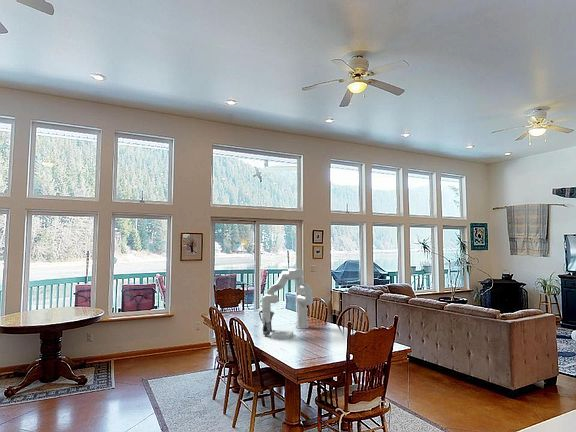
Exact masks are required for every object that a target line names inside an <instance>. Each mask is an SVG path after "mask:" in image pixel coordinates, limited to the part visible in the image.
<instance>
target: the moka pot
mask: <svg viewBox="0 0 576 432" xmlns="http://www.w3.org/2000/svg"><path fill="white" fill-rule="evenodd" d="M262 313H263V312H262V310H259V313H258V316H259V318H260V321H261V322H262ZM274 315H275V312H274V311H272V310H271V311H270V322H269V323H270V332H272V331H273V329H272V320H273V316H274Z"/></svg>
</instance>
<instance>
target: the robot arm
mask: <svg viewBox="0 0 576 432" xmlns="http://www.w3.org/2000/svg"><path fill="white" fill-rule="evenodd" d="M303 276H304V270H303V269H302V268H299V267H298V268H297V267H290V268H287V270H285V269H284V270H282V271H281V273H280V275H279V276H278V278H277V280H276V282H275V283H274V284H273V285H271V286H270V287H269V288H268V289H267V291H266V293H265V294H264V295H262V296H261V311H262V312H263V313H261V319H262V321H261V323H262V328H263V327H264V331H267V323H268V322H270V311H272V309H271V308H272V307H271V304H278V302H279V301H280V297H279V296H278V295H277V294H275V293H276V292H277V291H280V290H282V289H284V288H285V286H286V284H287V283H288V281H289V280H290V281H294V284H295V285H294V286H295V290H296V293H298V294H297V296H296V298H295V300H296V306H297V307H296V308H297V310H296V311H297V318H296V319H297V325H295V328H297V329H308V328H310V326H309V324H308V307H307V306H311V305H313V303H314V295H313V290H312V287H311V285H310V284H308V283H305V282H304V281H305V280H304V277H303ZM265 322H266V323H265Z"/></svg>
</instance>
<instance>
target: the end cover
mask: <svg viewBox="0 0 576 432" xmlns="http://www.w3.org/2000/svg"><path fill="white" fill-rule="evenodd" d="M265 323H266V322H265ZM262 335H263V336H271V331H270V323H269V322H268V323H267V331H264V327H263V326H262Z"/></svg>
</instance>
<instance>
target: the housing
mask: <svg viewBox="0 0 576 432" xmlns="http://www.w3.org/2000/svg"><path fill="white" fill-rule="evenodd" d="M293 336H294V331H293V330H278V329H276V330H274V332H273V333H270V338H271V339H280V340H281V339H283V340H289V339H291V338H292V337H293Z"/></svg>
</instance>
